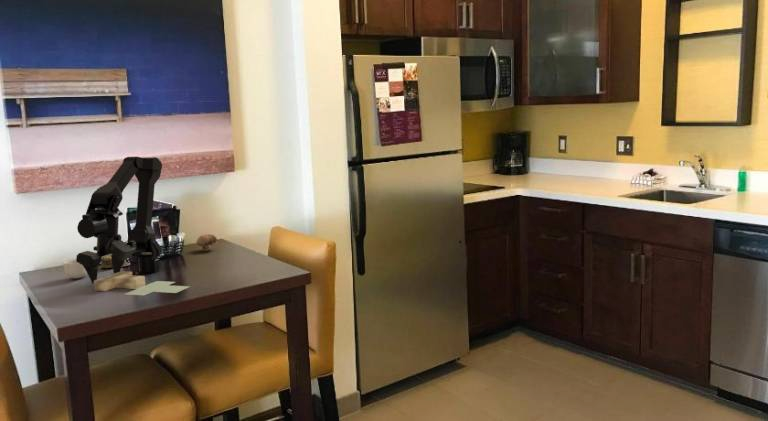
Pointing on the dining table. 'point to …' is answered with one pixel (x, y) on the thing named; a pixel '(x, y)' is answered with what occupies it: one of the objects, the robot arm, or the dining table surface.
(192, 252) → the dining table surface
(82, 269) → the teacup
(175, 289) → the pad
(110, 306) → the dining table surface
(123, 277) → the t block
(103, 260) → the cake
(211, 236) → the mushroom
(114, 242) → the robot arm
